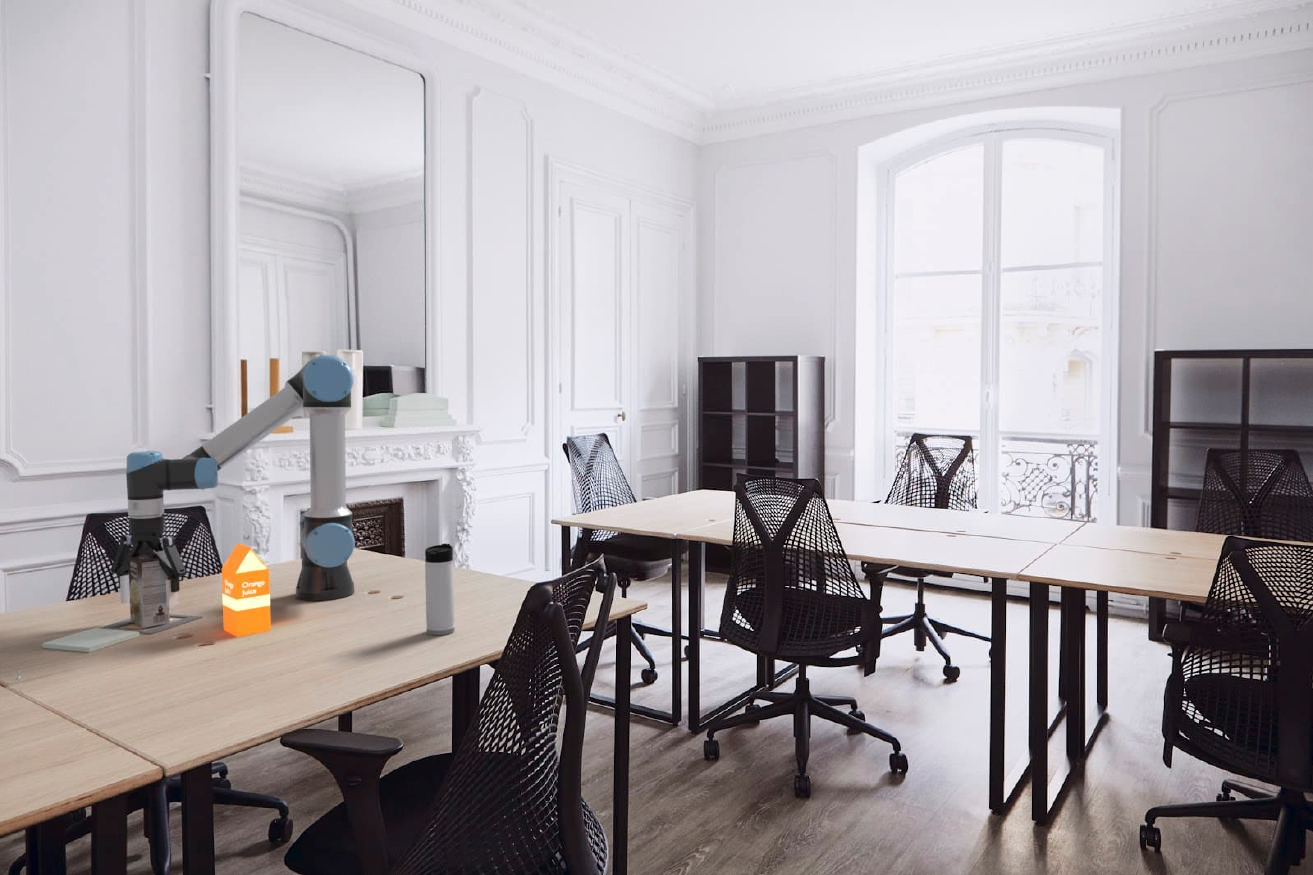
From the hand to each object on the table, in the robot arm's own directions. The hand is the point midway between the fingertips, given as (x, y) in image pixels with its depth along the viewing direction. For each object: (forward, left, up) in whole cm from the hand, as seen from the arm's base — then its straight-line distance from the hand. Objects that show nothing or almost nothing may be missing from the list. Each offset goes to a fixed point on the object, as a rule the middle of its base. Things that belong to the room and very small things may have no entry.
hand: (149, 603), depth 216 cm
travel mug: (-72, -11, -5) cm, 73 cm away
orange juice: (-27, -1, -5) cm, 27 cm away
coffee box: (0, 0, -5) cm, 5 cm away
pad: (0, +16, -5) cm, 17 cm away
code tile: (0, 0, -5) cm, 5 cm away
